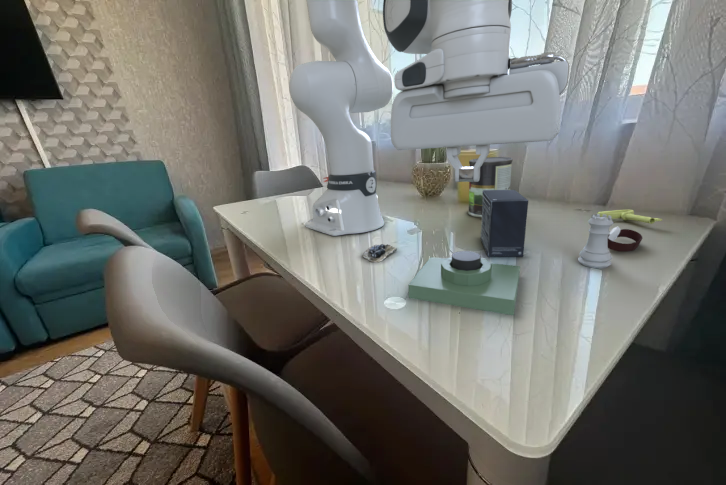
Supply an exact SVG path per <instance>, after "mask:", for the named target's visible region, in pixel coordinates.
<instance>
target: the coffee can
mask: <svg viewBox="0 0 726 485" xmlns="http://www.w3.org/2000/svg"><path fill="white" fill-rule="evenodd" d="M478 158H479V157H478ZM478 158H472V159H469V161H468V163H469V167H474V165H475V163H476V162H477V160H478ZM512 164H513V158H512V157H508V156H489V157H488V156H487V158H486V159H485V161H484V162H483V164H482V166H481V167H480V179H479V181H478V182H468V212H467V214H468V215H469V216H472V217H475V218H481V219H482V206H483V205H482V204H483V190H511V179H512V166H513V165H512Z"/></svg>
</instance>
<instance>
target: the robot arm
mask: <svg viewBox="0 0 726 485" xmlns="http://www.w3.org/2000/svg"><path fill="white" fill-rule="evenodd" d="M306 6H307V12H308V19H309V25H310V26H309V27H310V32H311V34H312V36H313V38H314V39H315V40H316V42H317V43H318V44H320V45H321V46H323V47H324V48H326V50H328V52H330V54H331V55H332V57H333V58H334V60H313V61H309V62H304V63H300V64H297V65H296V66H295V68H293V70H292V72H291V75H290V79H289V82H288V90H289V95H290V98H291V101H292V103H293V104H294V106H295V107H296V108H297V109H298V110H299V112H301V113H303V114H304V115H305V116H307V117H308V118H309V119H310V120H311V121H312V122H313V124H315V126H316V127H317V129H318V130H319V133H320V134H321V136H322V138H323V141H324V144H325V148H326V154H327V159H328V166H329V175H328V176H326V177H323V178H322V179H323V183H327V184H326V188H327V189H326V190H325V191H324V192H322V194H321V195H320V196H319V197H318V199H317V200H315V202H314V203H313V205H312V209H311V211H312V212H311V213H312V219H309V220H308V221H306V222H305V223H304V226H305V228H307V229H311V230H314V231H316V232H320V233H323V234H326V235H329V236H332V237H336V236H337V237H338V236H343V235H352V234H362V233H367V232H372V231H375V230H377V229H380V228H381V227H383V226H384V225H385V220H384V219H383V215H382V212H381V208H380V203H379V200H378V194H377V185H378V181H377V172H376V170H375V167H374V155H373V152H374V151H373V142H372V139H371V137H370V136H369V135H368V134H367V133H366V132H365V131H363V130H361V129H359V128H358V127H356V125H355V124H354V122H353V120H352V117H351V114H359V113H370V112H374V111H377V110H380V109H383V108H385V107H387V105H389V103H390V101H391V100H392V96H393V94H394V87H395V89H396V90H398V91H400V92H398V93H397V94H396V95H395V97H394V99H393V101H392V104H391V110H390V112H391V113H390V141H391V144H392V146H393V147H394V148H395V149H396V150H397V151H409V150H424V149H426V150H427V149H441V148H445V150H446V158H447V160H448V162H449V163H450V165H451V166H452V168H453V169H454V181H455V183H469V182H478V181H479V179H480V167H481V166H482V164H483V162H484V161H485V159H486V158H487V157H488V156H489V154H490V152H491V151H490V150H491V149H490V148H491V146H492V145H505V144H522V143H523V144H524V143H538V142H551V141H553V140H554V138H556V137H557V136H558V135H559V133H560V129H561V96H560V95H561V94H563V92H565V90H566V88H567V86H568V83H569V77H570V76H569V75H570V63H569V62H568V60H567V59H566V58H565V57H564V56H562V55H559V54H556V53H555V52H554V51H548V52H542V53H540V54H535V55H524V56H518V57H512V58H511V57H510V56H511V54H510V53H511V34H512V23H511V18H512V17H511V16H512V10H513V0H383V3H382V22H383V29H384V32H385V35H386V37H387V40H388V41H389V43H390V45H391V46H392V48H394V50H396V51H397V52H398V53H404V54H408V55H423V56H422V57H420V58H418V59H417V60H415V61H413V62H412V63H410V64H408V65H407V66H404V67H403V68H401V69H399V70H398V71H397V72H396V73H395V74H394V80H393V76H392V74H391V72H390V70H389V69H388V67H386V66H385V65H384V64H382V62H380V60H379V59H378V58H377V56H376V55H375V53H374V51H373V50H372V48H371V46H370V45H369V42H368V41H367V37H366V36H365V33H364V30H363V26H362V20H361V16H360V15H361V14H360V8H359V0H306ZM555 60H556V62H555ZM473 146H474V147H475V155H476V156H477V155H479V156H478V160H477V162H476V163H475V165H474V167H470V166H463V164H462V162H461V161H460V159H459V157H458V155H460V154H461V153H462V152H461V151H462V150H461V148H462V147H473Z"/></svg>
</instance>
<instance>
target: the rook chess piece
mask: <svg viewBox="0 0 726 485" xmlns="http://www.w3.org/2000/svg"><path fill="white" fill-rule="evenodd" d="M606 217H607V215H605V214H603V217H600V214H597V213H596V214H591V217H590V219H588V220H587V223H588V224H589V225H590V228H589V229H588V230H587V231H588V238H587V241H586V244H585V246H583V249H581V250H580V252H579V254H578V255H579V257H578V258H577V259H578V262H579V263H580V264H581V265H582V266H584V267H587V268H592V269H606V268H608V267H610V266H611V265H612V261H611V260H612V258H613V257H612V254H611V253H610V249H609V248H608V234H609V233H610V231H611V230H610V227H612V226H613V225H614V224H615V223H614V221H613V220H612V219H611V218H612V217H611V216H610V215H609V216H608V218H606Z"/></svg>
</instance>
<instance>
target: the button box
mask: <svg viewBox="0 0 726 485" xmlns="http://www.w3.org/2000/svg"><path fill="white" fill-rule="evenodd" d="M520 276H521V266H520V265H511V264H503V263H502V264H501V263H492V262H490V261H489V260H488V259H486V258H484V257H481V263H480V268H479V269H477V270H470V271H464V270H458V269H455V268H452V256H450V257H447V258H445V257H444V258H443V257H433V256H430V257H429V258H428V260H427V261H426V262H425V264H424V265H423V266H422V267H421V268H420V270H419V271H418V272H417V273H416V274H415V276H413V279H412V280H411V281H409V283H408V298H409V299H411V300H412V299H413V300H419V301H425V302H430V303H436V304H443V305H449V306H455V307H461V308H467V309H473V310H479V311H485V312H491V313H496V314H503V315H508V316H515V309H516V304H517V298H518V297H517V296H518V290H519V285H520Z"/></svg>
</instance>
